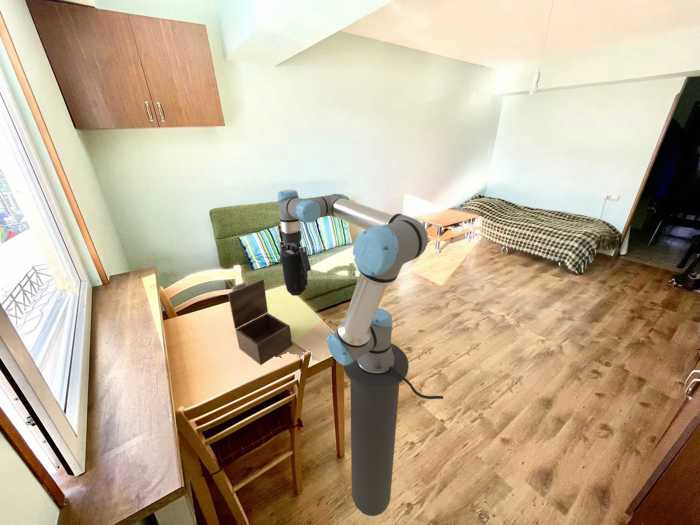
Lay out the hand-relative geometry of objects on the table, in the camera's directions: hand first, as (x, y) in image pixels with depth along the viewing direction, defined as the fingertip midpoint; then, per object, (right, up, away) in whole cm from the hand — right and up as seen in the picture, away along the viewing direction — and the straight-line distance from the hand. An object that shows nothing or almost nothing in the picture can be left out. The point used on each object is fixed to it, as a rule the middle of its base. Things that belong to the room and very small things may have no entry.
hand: (296, 282), depth 117 cm
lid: (-20, -9, +1) cm, 22 cm away
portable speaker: (0, -4, +2) cm, 4 cm away
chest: (-14, -28, +4) cm, 32 cm away
